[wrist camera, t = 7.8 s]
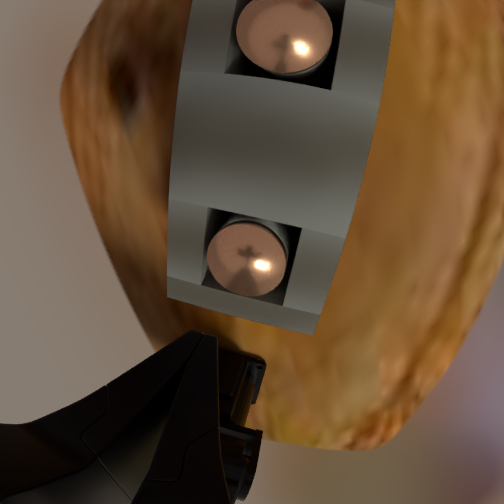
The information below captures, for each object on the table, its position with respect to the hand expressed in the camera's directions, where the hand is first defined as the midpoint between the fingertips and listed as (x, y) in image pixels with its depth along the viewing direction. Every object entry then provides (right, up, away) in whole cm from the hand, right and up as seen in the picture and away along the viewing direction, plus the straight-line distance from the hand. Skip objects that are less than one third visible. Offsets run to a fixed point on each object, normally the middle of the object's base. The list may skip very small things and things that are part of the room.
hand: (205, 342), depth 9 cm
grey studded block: (+3, +9, +8) cm, 13 cm away
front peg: (+4, +14, +5) cm, 15 cm away
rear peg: (+2, +5, +10) cm, 11 cm away
